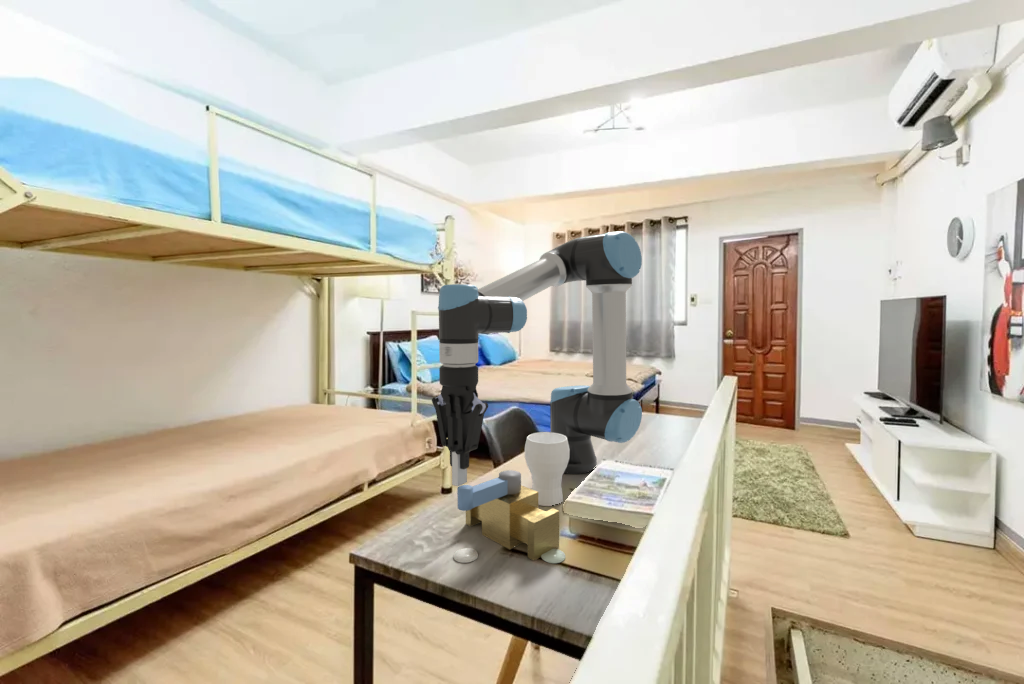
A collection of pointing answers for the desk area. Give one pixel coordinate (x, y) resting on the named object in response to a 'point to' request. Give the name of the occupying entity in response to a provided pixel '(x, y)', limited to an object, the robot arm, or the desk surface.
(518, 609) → the desk surface
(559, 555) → the pale green round dome
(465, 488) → the lever
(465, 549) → the white domed disc
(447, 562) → the desk surface
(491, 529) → the valve body
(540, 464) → the cup
